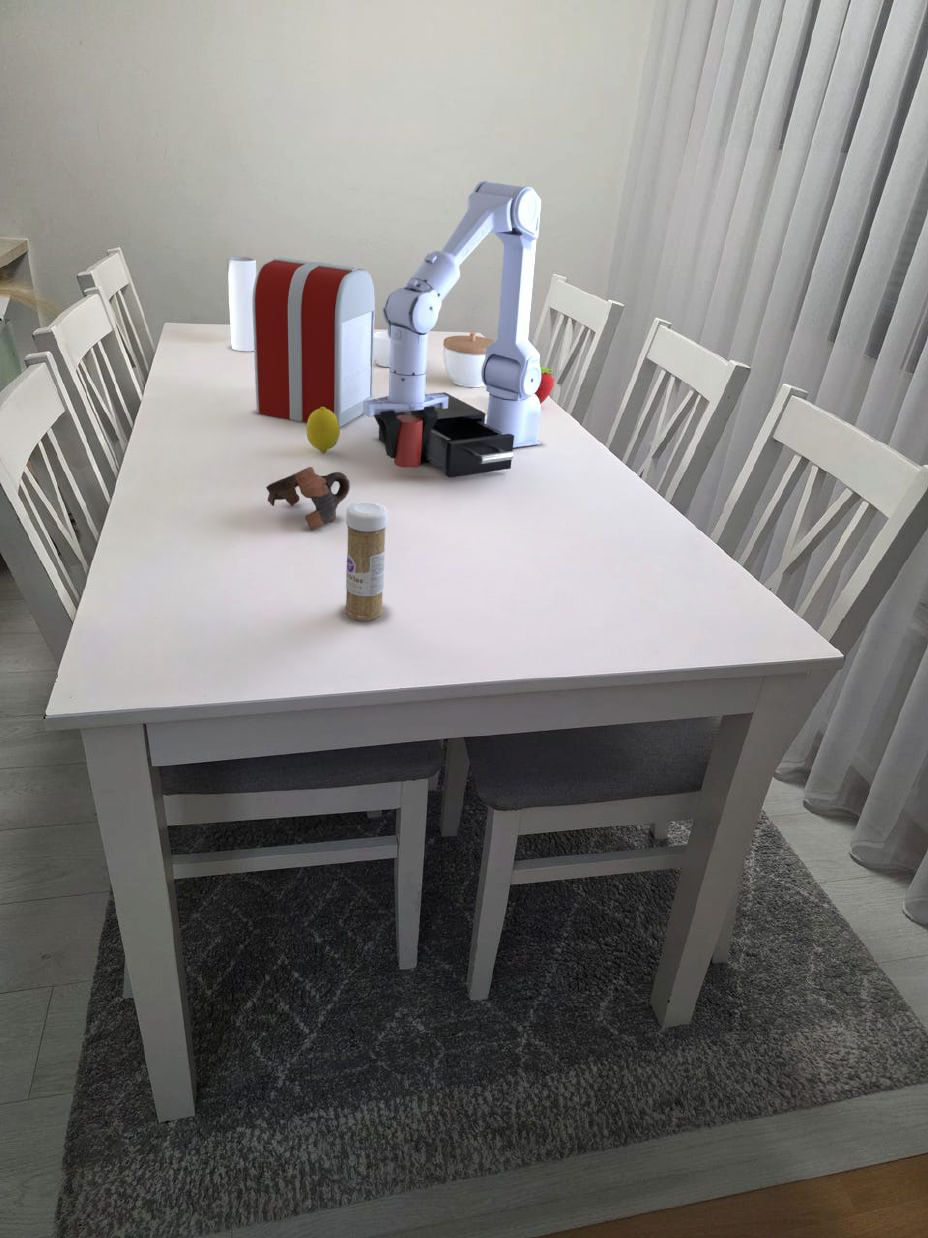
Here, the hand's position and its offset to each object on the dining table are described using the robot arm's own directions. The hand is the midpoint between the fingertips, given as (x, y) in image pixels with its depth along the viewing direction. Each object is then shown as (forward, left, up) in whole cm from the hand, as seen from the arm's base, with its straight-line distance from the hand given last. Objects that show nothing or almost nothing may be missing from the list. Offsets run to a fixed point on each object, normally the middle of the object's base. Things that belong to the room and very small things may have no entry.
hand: (404, 454), depth 145 cm
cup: (-31, -64, 0) cm, 71 cm away
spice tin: (0, +1, -1) cm, 2 cm away
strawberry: (-46, -24, -3) cm, 52 cm away
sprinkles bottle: (+27, +39, -3) cm, 48 cm away
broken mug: (+21, +10, -3) cm, 24 cm away
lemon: (+8, -14, -3) cm, 16 cm away
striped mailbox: (-1, -37, -3) cm, 37 cm away
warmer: (-11, -10, -3) cm, 15 cm away
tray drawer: (-11, +3, -2) cm, 12 cm away
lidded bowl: (-42, -45, -3) cm, 62 cm away
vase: (-8, -87, -3) cm, 87 cm away
